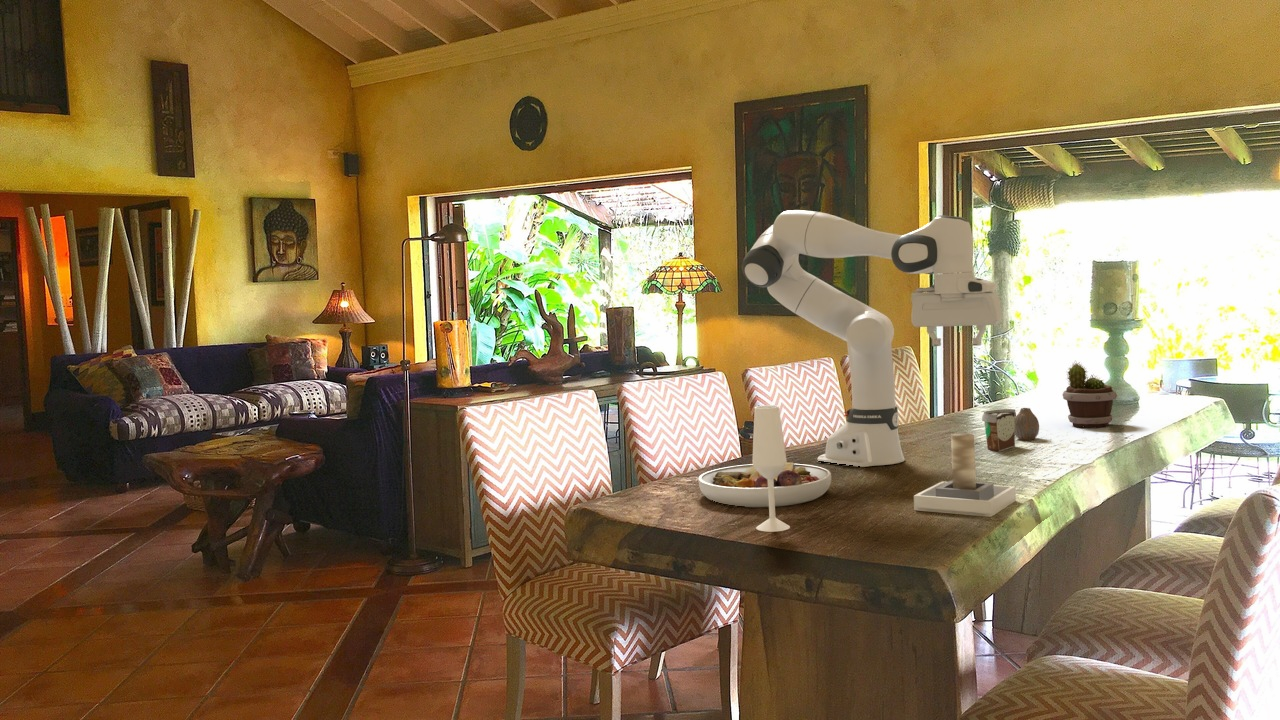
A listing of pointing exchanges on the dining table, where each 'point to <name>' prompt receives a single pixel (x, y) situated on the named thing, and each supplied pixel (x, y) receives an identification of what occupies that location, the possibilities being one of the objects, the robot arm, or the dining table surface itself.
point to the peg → (963, 461)
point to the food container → (1000, 429)
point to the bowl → (764, 485)
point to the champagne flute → (769, 457)
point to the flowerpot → (1088, 399)
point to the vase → (1026, 425)
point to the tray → (965, 499)
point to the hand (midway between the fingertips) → (956, 345)
